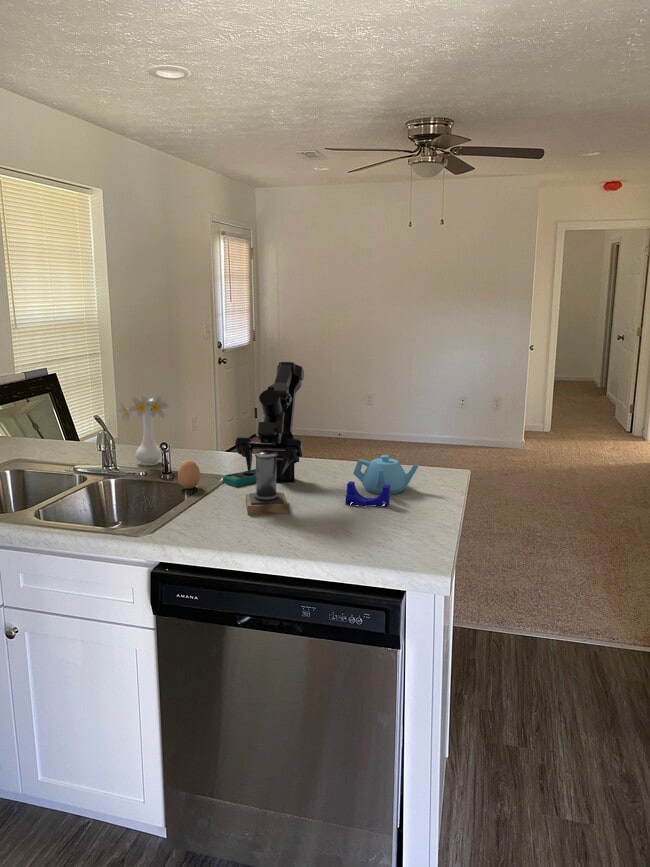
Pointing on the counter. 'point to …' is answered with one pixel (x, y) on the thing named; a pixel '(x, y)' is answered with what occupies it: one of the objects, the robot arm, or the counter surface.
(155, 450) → the flower vase
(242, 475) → the digital multimeter
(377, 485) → the teapot
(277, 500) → the stand
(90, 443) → the counter surface
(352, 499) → the cable clip
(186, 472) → the egg
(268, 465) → the grey plastic cylinder
